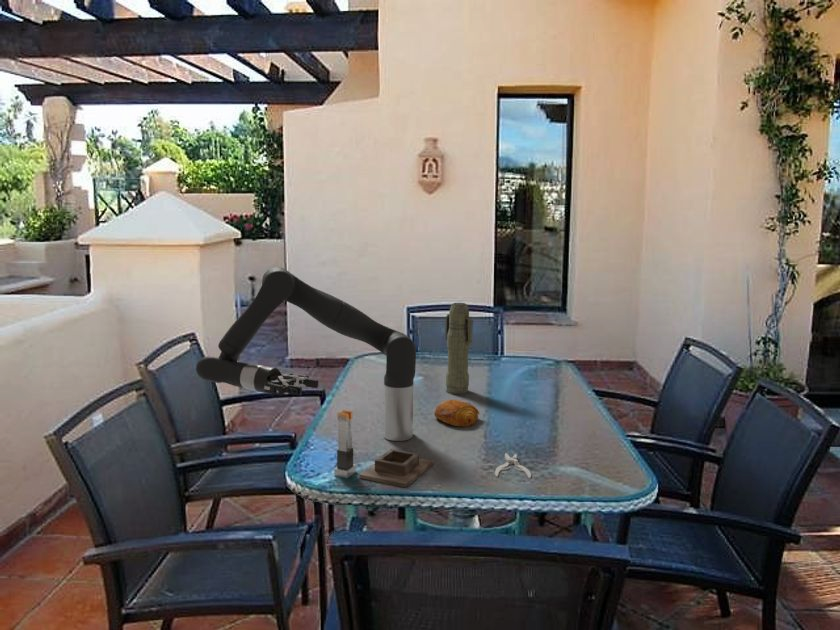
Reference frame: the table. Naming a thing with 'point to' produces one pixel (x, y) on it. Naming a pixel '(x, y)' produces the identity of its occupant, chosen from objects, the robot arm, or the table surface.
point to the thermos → (458, 348)
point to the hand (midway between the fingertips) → (309, 387)
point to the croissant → (456, 413)
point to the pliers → (512, 461)
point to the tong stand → (396, 468)
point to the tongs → (345, 445)
